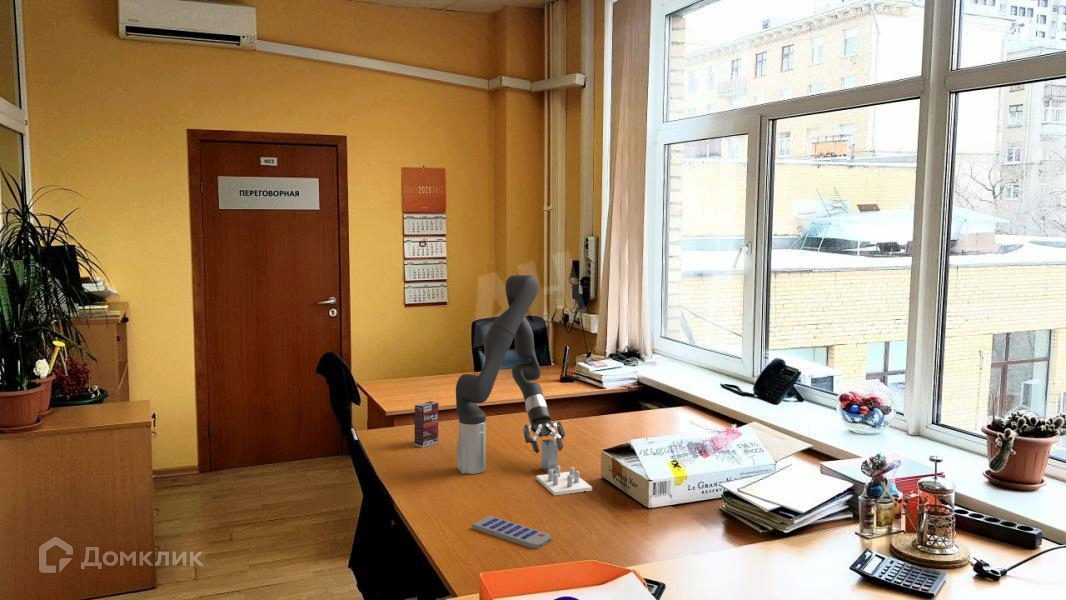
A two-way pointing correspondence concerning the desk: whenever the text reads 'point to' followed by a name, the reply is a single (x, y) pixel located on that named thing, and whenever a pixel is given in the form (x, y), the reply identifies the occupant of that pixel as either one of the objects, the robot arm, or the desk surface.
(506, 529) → the remote control
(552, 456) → the drive
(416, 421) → the supplement box
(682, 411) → the desk surface
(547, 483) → the tray
